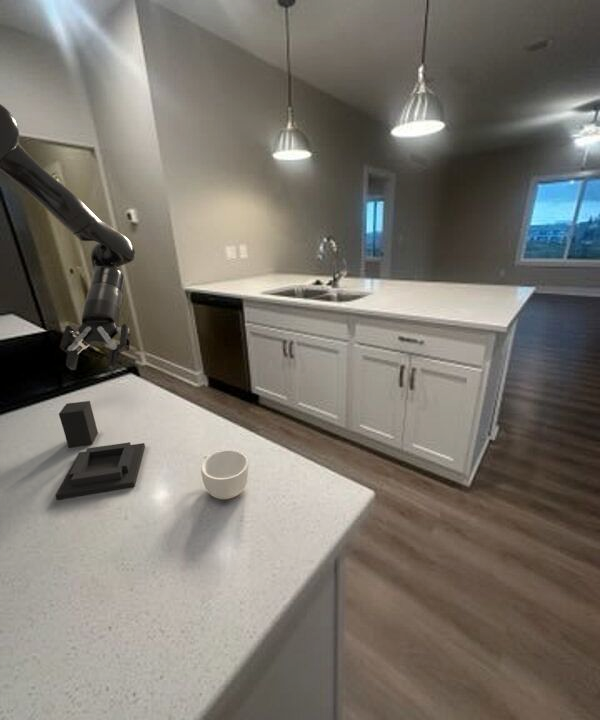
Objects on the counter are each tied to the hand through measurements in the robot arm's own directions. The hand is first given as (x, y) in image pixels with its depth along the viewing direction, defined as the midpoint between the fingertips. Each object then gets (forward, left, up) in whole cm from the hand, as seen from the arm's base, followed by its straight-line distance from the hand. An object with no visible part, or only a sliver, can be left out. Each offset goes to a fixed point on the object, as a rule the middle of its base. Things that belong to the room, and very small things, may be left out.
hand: (91, 368), depth 77 cm
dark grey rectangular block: (-2, -9, -13) cm, 16 cm away
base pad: (+5, -21, -13) cm, 25 cm away
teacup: (+26, -31, -13) cm, 43 cm away
